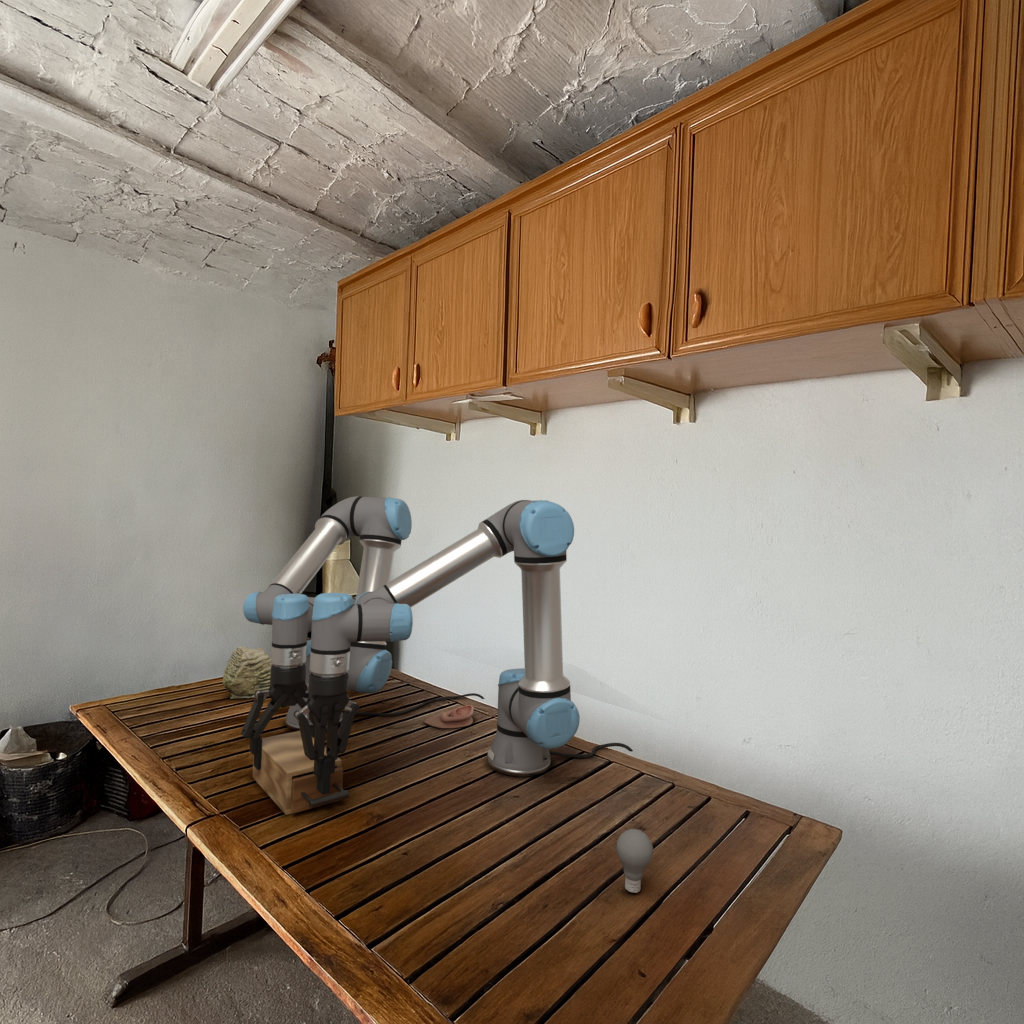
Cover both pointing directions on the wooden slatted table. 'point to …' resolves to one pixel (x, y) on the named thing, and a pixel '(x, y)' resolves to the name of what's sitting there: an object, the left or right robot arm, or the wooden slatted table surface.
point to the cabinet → (283, 766)
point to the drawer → (315, 791)
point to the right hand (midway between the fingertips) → (323, 790)
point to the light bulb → (634, 857)
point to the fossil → (247, 672)
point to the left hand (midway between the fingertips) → (285, 760)
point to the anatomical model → (452, 718)
